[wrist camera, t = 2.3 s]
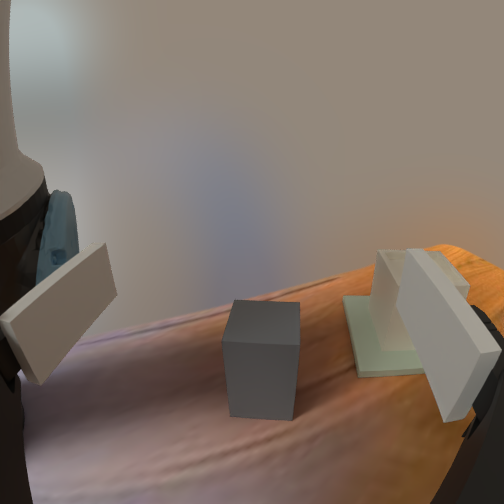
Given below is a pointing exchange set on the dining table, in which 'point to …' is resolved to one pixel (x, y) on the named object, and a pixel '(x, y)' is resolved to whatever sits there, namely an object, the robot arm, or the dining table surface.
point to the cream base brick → (386, 293)
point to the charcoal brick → (262, 358)
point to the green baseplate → (375, 345)
